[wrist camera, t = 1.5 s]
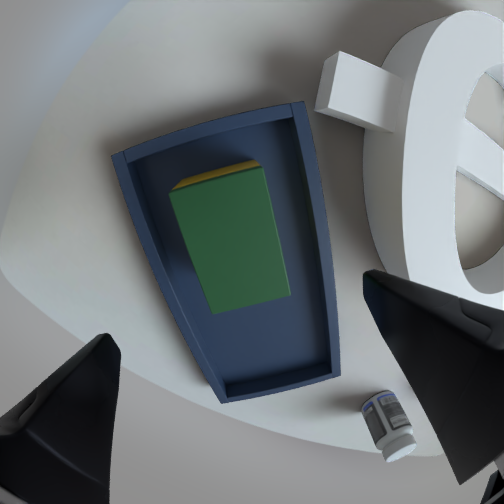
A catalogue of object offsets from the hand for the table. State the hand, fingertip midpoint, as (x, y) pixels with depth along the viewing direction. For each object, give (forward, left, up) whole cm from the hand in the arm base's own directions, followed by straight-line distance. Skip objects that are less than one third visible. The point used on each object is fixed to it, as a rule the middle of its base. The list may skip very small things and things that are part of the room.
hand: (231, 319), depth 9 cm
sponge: (0, 0, -9) cm, 9 cm away
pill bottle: (+11, -26, -10) cm, 30 cm away
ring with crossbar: (+23, 0, -10) cm, 25 cm away
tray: (0, -4, -10) cm, 11 cm away
